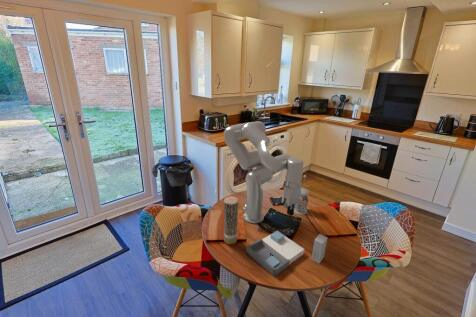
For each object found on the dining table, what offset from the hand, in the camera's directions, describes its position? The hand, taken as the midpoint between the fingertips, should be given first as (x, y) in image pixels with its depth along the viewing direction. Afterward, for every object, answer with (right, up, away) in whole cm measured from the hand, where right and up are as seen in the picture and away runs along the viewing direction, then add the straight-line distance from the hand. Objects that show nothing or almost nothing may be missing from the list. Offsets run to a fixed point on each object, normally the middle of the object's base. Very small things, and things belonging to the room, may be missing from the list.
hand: (290, 214), depth 127 cm
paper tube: (-31, -15, +2) cm, 35 cm away
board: (-5, -17, -3) cm, 18 cm away
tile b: (-7, -13, 0) cm, 14 cm away
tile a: (-11, -18, -15) cm, 26 cm away
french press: (+12, -4, +31) cm, 34 cm away
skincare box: (+12, -20, -8) cm, 24 cm away
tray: (-13, -19, -9) cm, 25 cm away
